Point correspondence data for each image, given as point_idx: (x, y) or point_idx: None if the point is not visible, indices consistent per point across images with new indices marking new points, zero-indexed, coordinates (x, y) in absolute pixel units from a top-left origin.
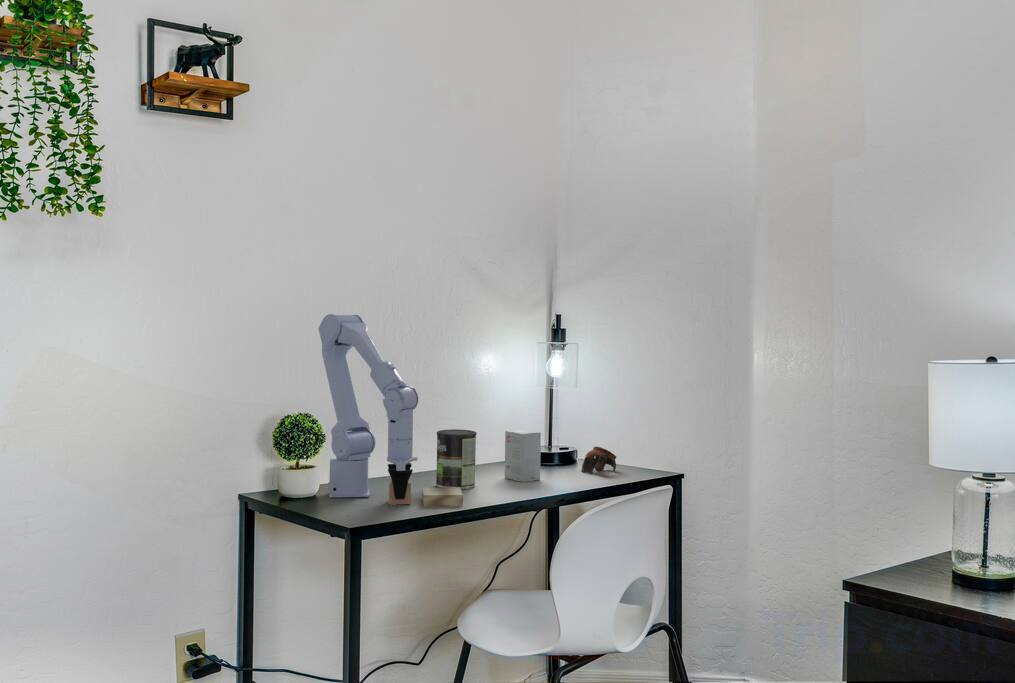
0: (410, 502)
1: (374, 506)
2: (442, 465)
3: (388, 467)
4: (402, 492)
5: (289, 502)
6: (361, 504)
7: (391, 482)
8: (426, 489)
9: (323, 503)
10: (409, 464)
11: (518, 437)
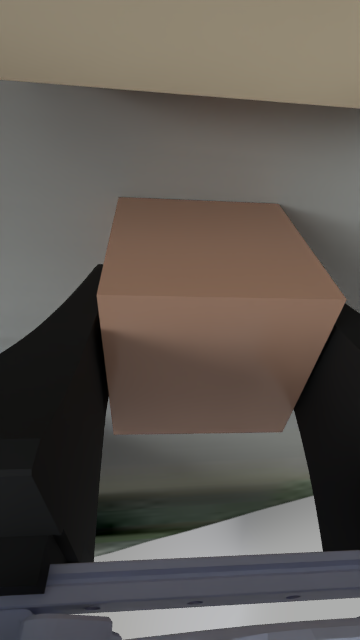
0: (284, 212)
1: None
2: None
3: (92, 551)
4: None
5: (141, 524)
6: None
7: (249, 422)
8: (107, 27)
9: (164, 482)
10: (40, 489)
11: None
